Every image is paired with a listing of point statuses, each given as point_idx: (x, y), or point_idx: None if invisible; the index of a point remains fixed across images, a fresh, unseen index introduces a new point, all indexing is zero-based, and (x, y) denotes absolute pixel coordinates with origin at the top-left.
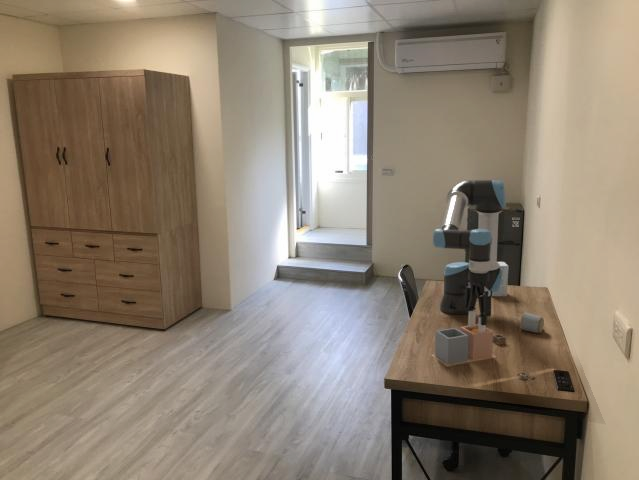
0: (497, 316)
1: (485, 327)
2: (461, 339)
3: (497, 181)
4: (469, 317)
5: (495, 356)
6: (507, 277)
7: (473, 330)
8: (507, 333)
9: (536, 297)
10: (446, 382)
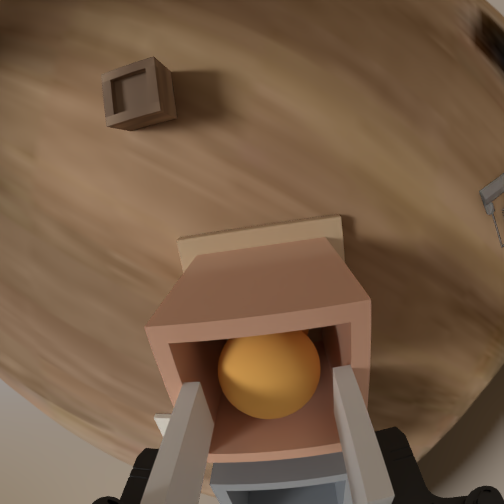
0: None
1: (361, 395)
2: None
3: None
4: (196, 493)
5: (331, 219)
6: None
7: (271, 418)
8: (50, 20)
9: None
10: (417, 448)
